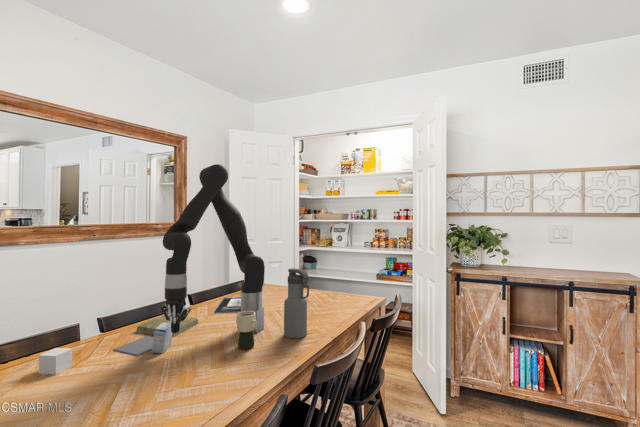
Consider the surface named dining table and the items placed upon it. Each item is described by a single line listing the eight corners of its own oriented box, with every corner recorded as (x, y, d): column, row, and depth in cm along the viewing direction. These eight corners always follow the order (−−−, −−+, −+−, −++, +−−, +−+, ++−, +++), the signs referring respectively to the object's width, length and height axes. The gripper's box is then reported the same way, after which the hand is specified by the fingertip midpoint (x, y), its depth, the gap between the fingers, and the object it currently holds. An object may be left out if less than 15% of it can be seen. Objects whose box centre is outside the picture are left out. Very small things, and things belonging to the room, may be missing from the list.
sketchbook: (213, 314, 170) (213, 310, 170) (224, 300, 200) (224, 296, 200) (255, 313, 173) (255, 309, 173) (259, 299, 203) (259, 295, 203)
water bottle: (311, 333, 142) (312, 268, 142) (300, 340, 133) (301, 271, 133) (291, 329, 146) (291, 267, 146) (279, 336, 137) (280, 270, 137)
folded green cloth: (161, 321, 158) (161, 314, 158) (199, 324, 154) (199, 316, 154) (131, 334, 140) (132, 326, 140) (173, 338, 136) (173, 330, 136)
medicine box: (159, 344, 127) (162, 322, 127) (171, 345, 127) (174, 323, 128) (150, 352, 119) (154, 328, 119) (163, 353, 120) (166, 330, 120)
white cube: (55, 365, 110) (56, 347, 110) (72, 366, 109) (72, 348, 109) (38, 374, 104) (38, 355, 104) (55, 375, 103) (56, 356, 103)
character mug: (262, 347, 126) (263, 313, 126) (249, 353, 120) (249, 318, 120) (243, 341, 132) (243, 308, 132) (229, 346, 126) (229, 313, 127)
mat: (171, 341, 131) (171, 340, 131) (137, 355, 118) (137, 354, 118) (147, 336, 136) (147, 335, 136) (113, 350, 122) (113, 349, 122)
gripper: (197, 285, 122) (196, 331, 122) (170, 282, 127) (169, 327, 127) (181, 289, 115) (180, 338, 115) (154, 285, 120) (153, 333, 120)
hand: (175, 332), depth 121 cm, fingers closed
